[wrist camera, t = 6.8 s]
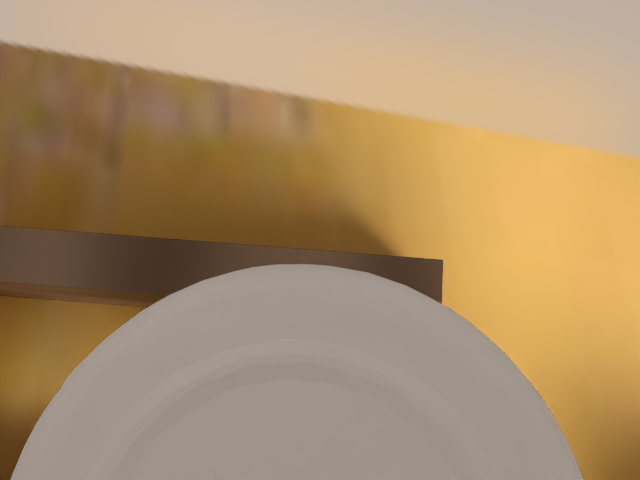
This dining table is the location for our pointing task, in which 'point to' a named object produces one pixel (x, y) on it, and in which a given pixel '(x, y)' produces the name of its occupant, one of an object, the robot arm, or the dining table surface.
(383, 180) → the dining table surface
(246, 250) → the guide rail
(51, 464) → the spice jar
